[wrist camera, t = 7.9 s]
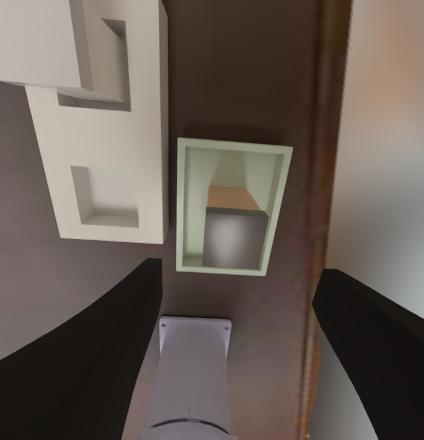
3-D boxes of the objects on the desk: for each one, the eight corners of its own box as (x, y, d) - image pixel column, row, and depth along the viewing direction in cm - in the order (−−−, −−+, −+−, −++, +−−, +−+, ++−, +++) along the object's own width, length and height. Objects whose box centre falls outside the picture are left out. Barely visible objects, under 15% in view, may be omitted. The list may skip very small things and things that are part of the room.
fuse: (133, 105, 14) (81, 87, 9) (84, 101, 14) (-4, 80, 8) (129, 45, 13) (65, -25, 7) (75, 40, 13) (-36, -36, 7)
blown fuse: (242, 225, 18) (258, 269, 12) (204, 222, 18) (202, 266, 12) (248, 187, 17) (269, 217, 11) (207, 184, 17) (205, 212, 11)
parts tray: (260, 263, 20) (265, 276, 19) (179, 258, 20) (176, 270, 18) (283, 145, 16) (293, 147, 14) (181, 137, 16) (177, 137, 14)
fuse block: (168, 230, 19) (162, 244, 17) (79, 224, 19) (60, 237, 16) (167, 17, 13) (158, -9, 11) (38, 4, 13) (-2, -26, 10)
